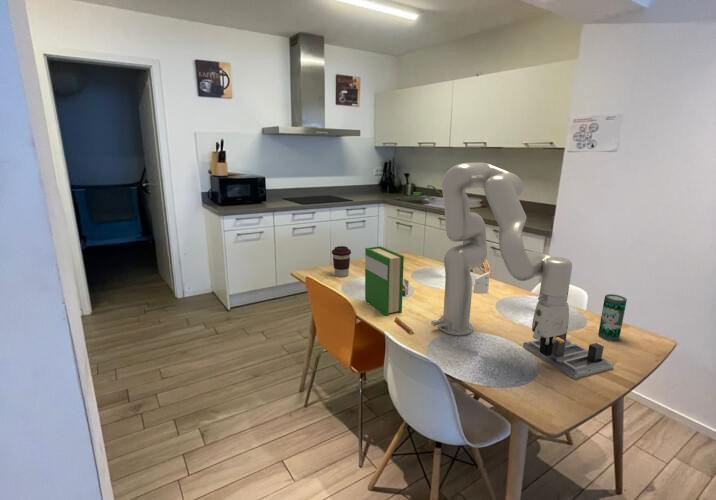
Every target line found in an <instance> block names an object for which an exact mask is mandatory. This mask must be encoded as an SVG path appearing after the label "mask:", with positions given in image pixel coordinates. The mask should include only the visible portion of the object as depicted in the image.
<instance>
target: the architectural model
mask: <svg viewBox="0 0 716 500" xmlns="http://www.w3.org/2000/svg"><path fill="white" fill-rule="evenodd" d="M409 284H410V283H409V280H408V279H405V278H403V293H402V294H405V295H404V297H407V296H406V295H408V296H409Z"/></svg>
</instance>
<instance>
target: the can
mask: <svg viewBox="0 0 716 500" xmlns="http://www.w3.org/2000/svg"><path fill="white" fill-rule="evenodd" d="M627 301H628V299H627V298H626V297H625V296H622V295H618V294H614V293H613V294H612V293H611V294H605V296H604V300H603V305H602V309H601V316H600V323H599V329H598V333H597V335H598V337H599V338H601V339H602V340H605V341H609V342H618V341H619V340H620V337H621V332H622V327H623V321H624V316H625V310H626V307H627Z"/></svg>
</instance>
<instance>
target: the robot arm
mask: <svg viewBox="0 0 716 500" xmlns="http://www.w3.org/2000/svg"><path fill="white" fill-rule="evenodd" d="M477 188H482V189H483V191H484V192H483V193H484V194H485V197H486V200H487V202H488V205H489V207H490V209H491V211H492V214H493V215H494V216H493V217H494V219H495V220H496V221H495V222H497V226H498V245H499V247H498V248H499V251H500V255H501V258H502V260H503V263H504V265H505V267H506V269H507V271H508V273H509V274H510V276H512V278H513V279H514V280H517V281H520V282H525V281H529V280H531V279H533V278H536V277H541V280H540V287H539V294H538V298H537V300H538V301H537V303H536V306H535V309H534V313H533V318H532V325H531V331H532V332H533V334H532V338H533V339H534V340H540V341H541V343H540V353H542V354H544V355H545V356H550V355H552V348H553V343H555V340H556V338H557V337H558V336H559V335H563V334H565V333H566V332H567V333H568V329H569V322H570V321H569V320H570V319H569V317H570V308H569V307H570V306H569V303H568V299H569V297H568V296H569V289H570V283H571V277H572V271H573V262H572V261H571V260H570V259H568V258H566V257H565V258H564V257H559V256H553V255H549V254H546V253H544V252H541V251H536V250H533V251H532V250H531V251H528V252H527V251H526V249H525V246H524V243H523V238H522V236H523V235H522V234H523V229H524V226H525V224H526V222H527V214H526V213H525V210H524V208H523V206H522V204H521V201H520V198H519V196H520V195H521V194H522V192H523V188H524V186H523V181H522V180H521V178H520V177H519V176H518V175H517V174H515V173H513V172H510V171H508V170H505V169H503V168H500V167H497V166H495V165H493V164H490V163H487V162H463V163H459V164H456V165H454V166H452V167H451V168H449V169H448V170H447V171H446V173H445V174H444V176H443V178H442V183H441V190H442V191H441V193H442V196H443V207H444V220H445V233H446V237H447V238H448V239H449V240H450V241H451V242H456V243H459V242H462V243H461V244H458V245H455V246H452V247H450V248H449V249H448V250H447V251H446V252H445V254H444V257H443V266H444V274H445V275H444V276H445V277H444V279H445V280H444V281H445V282H444V299H443V310H442V311H443V312H442V313H443V315H440V317H439V318H438V319H435V320H431V321H430V322H431V325H432V327H436V326H437V327H438V329H439V330H440V331H442V332H443V333H445V334H448V335H452V336H467V335H470V334H472V333H473V331H474V325H473V324H472V322H470V319H471V306H472V295H473V279H472V275H471V270H473V269H476V268H479V267H480V266H482V265H483V264H484V263H485V262H486V260H487V256H488V245H487V243H488V241H487V230H486V229H487V227H486V223H485V221H484V220H485V219H483V216H481V215H480V214H478V213H476V212H473V211H471V210H470V205H471V204H470V199H469V196H468V194H467V192H466V191H467V190H468V189H477Z"/></svg>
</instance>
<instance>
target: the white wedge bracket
mask: <svg viewBox="0 0 716 500" xmlns="http://www.w3.org/2000/svg"><path fill="white" fill-rule="evenodd" d="M490 275H491V272H490V271H487V272H486V273H485V272H484V273H483V274H481V275H478V276H477V277H475V279H474V284H473V292H474V293H475V294H489V283H490Z"/></svg>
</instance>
